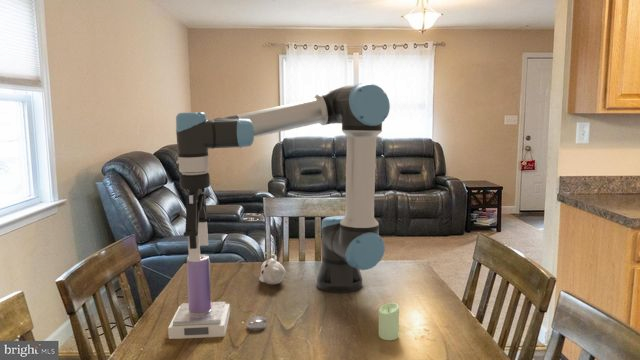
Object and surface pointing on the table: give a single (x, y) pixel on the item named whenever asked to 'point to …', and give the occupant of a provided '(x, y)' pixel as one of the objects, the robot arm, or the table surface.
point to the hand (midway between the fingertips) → (199, 252)
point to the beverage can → (199, 285)
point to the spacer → (256, 323)
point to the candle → (389, 321)
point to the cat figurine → (272, 271)
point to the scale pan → (189, 319)
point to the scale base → (200, 328)
